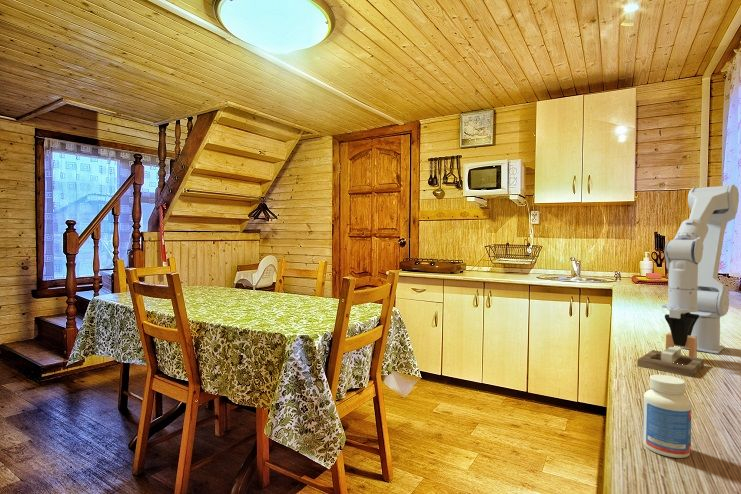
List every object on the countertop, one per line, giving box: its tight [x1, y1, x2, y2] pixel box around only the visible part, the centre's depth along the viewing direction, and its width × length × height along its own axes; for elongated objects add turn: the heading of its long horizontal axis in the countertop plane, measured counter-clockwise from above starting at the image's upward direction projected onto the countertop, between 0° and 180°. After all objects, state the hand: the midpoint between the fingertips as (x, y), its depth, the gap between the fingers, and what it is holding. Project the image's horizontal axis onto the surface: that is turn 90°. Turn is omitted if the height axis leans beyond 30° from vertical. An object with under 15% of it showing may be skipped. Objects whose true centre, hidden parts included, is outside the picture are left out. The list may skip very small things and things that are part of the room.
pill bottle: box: [642, 374, 692, 459], centre depth 57 cm, size 6×5×10 cm
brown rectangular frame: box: [637, 346, 705, 378], centre depth 95 cm, size 12×10×4 cm
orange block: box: [665, 332, 698, 358], centre depth 101 cm, size 3×6×6 cm, turn 42°
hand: (681, 343), depth 101 cm, fingers closed on orange block, 3 cm apart
